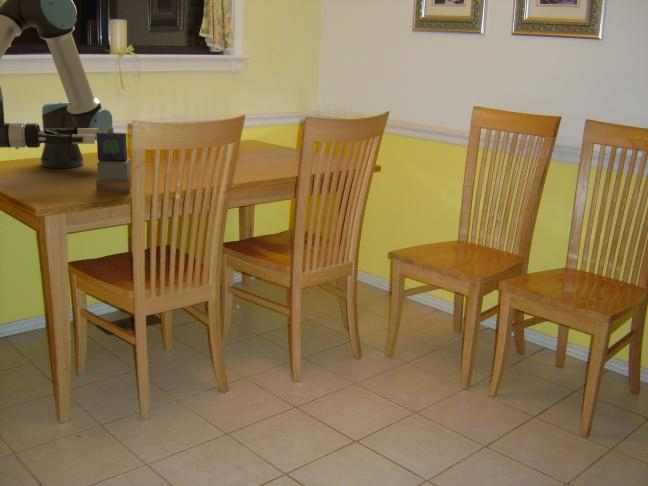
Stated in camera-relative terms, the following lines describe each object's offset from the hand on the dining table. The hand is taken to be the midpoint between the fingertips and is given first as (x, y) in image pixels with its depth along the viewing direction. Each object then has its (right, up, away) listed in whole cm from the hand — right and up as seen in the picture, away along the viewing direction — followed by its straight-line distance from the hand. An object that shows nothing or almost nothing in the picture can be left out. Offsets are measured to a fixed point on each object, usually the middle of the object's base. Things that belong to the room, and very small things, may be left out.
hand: (96, 135), depth 240 cm
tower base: (+4, -17, +6) cm, 19 cm away
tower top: (+5, -12, +4) cm, 14 cm away
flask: (+4, -8, +3) cm, 9 cm away
